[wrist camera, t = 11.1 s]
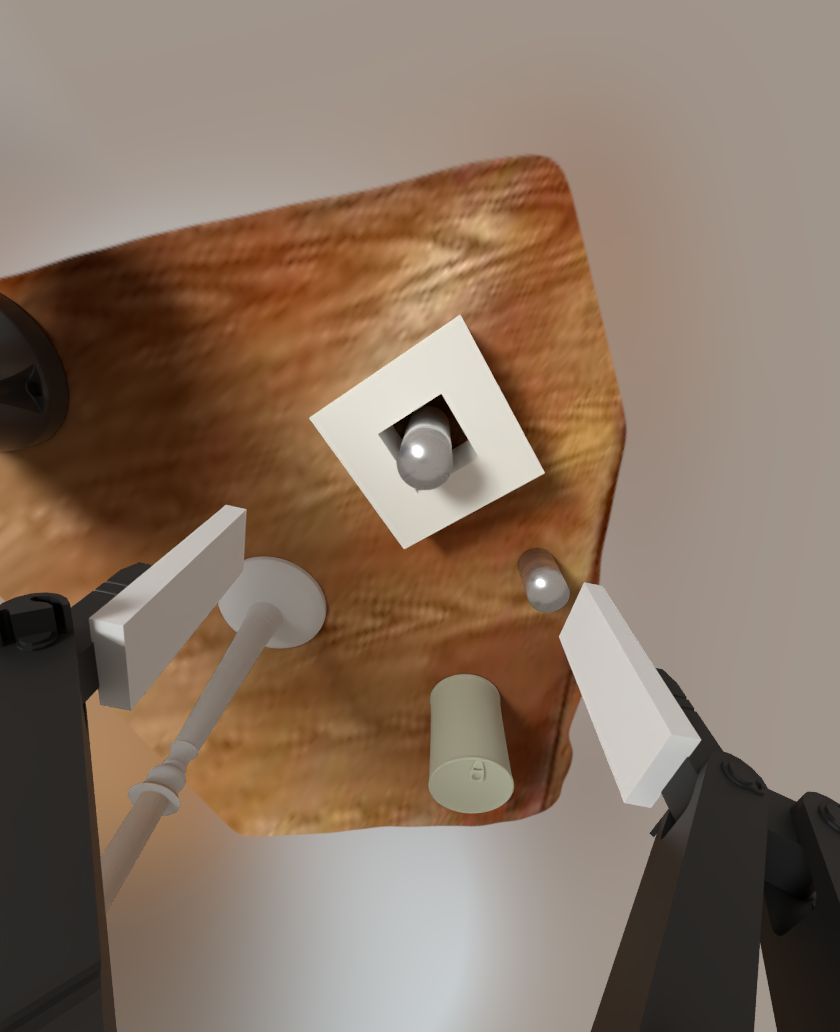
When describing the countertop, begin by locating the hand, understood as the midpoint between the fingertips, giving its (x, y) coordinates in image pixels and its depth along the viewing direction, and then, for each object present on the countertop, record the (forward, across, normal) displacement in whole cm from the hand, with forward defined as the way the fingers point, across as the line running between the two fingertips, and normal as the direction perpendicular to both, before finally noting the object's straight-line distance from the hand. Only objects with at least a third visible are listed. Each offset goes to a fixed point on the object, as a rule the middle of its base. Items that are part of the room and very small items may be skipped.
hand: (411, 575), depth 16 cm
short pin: (+27, +15, -12) cm, 33 cm away
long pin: (+27, 0, 0) cm, 27 cm away
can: (+27, +13, -34) cm, 45 cm away
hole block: (+27, 0, 0) cm, 27 cm away
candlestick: (+27, -13, -25) cm, 39 cm away
